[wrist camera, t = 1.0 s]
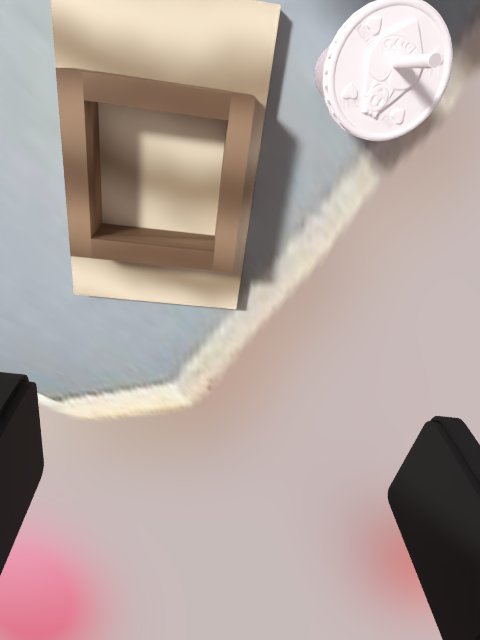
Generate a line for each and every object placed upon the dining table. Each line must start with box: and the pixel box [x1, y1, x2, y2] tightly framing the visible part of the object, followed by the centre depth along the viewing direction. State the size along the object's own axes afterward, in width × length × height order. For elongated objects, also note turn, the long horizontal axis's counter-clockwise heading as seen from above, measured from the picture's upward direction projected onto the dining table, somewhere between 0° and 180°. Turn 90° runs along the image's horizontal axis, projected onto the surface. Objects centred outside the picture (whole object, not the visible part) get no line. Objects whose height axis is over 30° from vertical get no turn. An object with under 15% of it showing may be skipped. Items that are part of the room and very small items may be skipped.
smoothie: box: [315, 0, 452, 141], centre depth 23 cm, size 6×6×14 cm
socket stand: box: [51, 0, 281, 309], centre depth 30 cm, size 22×14×5 cm, turn 172°
